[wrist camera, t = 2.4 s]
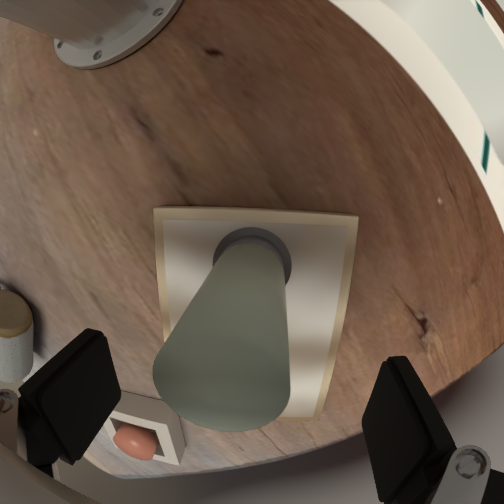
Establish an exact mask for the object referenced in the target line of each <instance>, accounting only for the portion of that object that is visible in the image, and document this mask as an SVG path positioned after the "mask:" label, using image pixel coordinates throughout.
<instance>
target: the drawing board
mask: <svg viewBox="0 0 504 504" xmlns="http://www.w3.org/2000/svg"><path fill="white" fill-rule="evenodd" d="M153 212H154V237H155V254H156V268H157V280H158V291H159V300H160V309H161V318H162V326H163V333H164V340H165V342H166V340H167V338H168V337H169V335H170V334H171V332H172V330H173V329H174V327H175V326H176V324H177V323H178V321H179V319H180V318H181V316H182V315H183V313H184V311H185V310H186V308H187V307H188V305H189V304H190V302H191V300H192V299H193V297H194V296H195V294H196V293H197V291H198V290H199V288H200V286H201V285H202V283H203V282H204V280H205V279H206V277H207V276H208V274H209V273H210V271H211V269H212V268H213V266H214V265H215V263H216V262H217V260H218V259H219V257H220V256H221V254H222V253H223V251H224V250H225V248H226V247H227V246H228V245H229V244H230V243H231V242H232V241H233V240H235V239H237V238H239V237H242V236H247V235H255V236H260V237H263V238H265V239H267V240H269V241H271V242H272V243H273V244H274V245H275V246H276V247H277V248H278V250H279V251H280V253H281V255H282V258H283V263H284V276H285V290H286V306H287V323H288V341H289V362H290V386H291V392H290V399H289V402H288V404H287V406H286V408H285V410H284V411H283V412H282V414H281V415H280V416H279V417H277V418H276V419H275V420H277V421H319V420H320V416H321V413H322V410H323V406H324V403H325V399H326V395H327V392H328V388H329V384H330V380H331V376H332V372H333V368H334V364H335V360H336V356H337V351H338V347H339V342H340V337H341V333H342V328H343V323H344V318H345V312H346V307H347V301H348V295H349V289H350V283H351V277H352V270H353V263H354V255H355V247H356V239H357V230H358V220H359V217H358V216H356V215H354V214H345V213H332V212H318V211H303V210H286V209H266V208H241V207H207V206H159V207H156V208H153Z"/></svg>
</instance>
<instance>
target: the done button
mask: <svg viewBox="0 0 504 504" xmlns="http://www.w3.org/2000/svg"><path fill="white" fill-rule="evenodd" d="M113 441H114V443H115V445H116V446H117V447H118V448H119V449H120V450H121V451H123V452H124V453H126V454H128V455H129V456H131V457H134V458H136V459H140V460H151V459H152V458H153V456H154V453H155V451H156V449H157V446H158V444H159V441H158V438H157V437H156V436H155V435H154V434H153V433H152V432H151V431H150V430H148V429H147V428H145V427H141V426H138V425H134V424H131V423H127V422H123V423H121V425H120V426H119V428H118V430H117V432H116V433H115V435H114V437H113Z"/></svg>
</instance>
